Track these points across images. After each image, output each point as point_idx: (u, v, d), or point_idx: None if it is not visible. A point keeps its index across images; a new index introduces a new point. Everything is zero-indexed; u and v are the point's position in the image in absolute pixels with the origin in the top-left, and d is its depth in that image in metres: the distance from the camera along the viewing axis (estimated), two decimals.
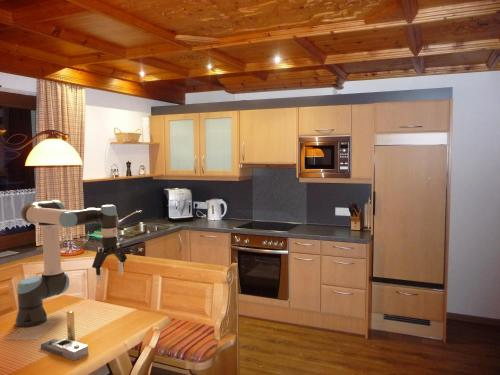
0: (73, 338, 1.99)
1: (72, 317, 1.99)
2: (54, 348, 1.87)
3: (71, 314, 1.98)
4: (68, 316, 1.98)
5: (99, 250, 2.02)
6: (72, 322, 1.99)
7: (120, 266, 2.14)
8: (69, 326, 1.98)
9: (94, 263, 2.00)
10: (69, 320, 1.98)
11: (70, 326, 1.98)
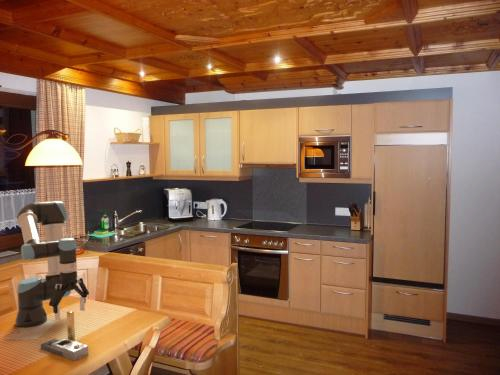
0: (73, 338, 1.99)
1: (72, 317, 1.99)
2: (54, 348, 1.87)
3: (71, 314, 1.98)
4: (68, 316, 1.98)
5: (56, 287, 1.92)
6: (72, 322, 1.99)
7: (81, 302, 2.04)
8: (69, 326, 1.98)
9: (51, 301, 1.90)
10: (69, 320, 1.98)
11: (70, 326, 1.98)
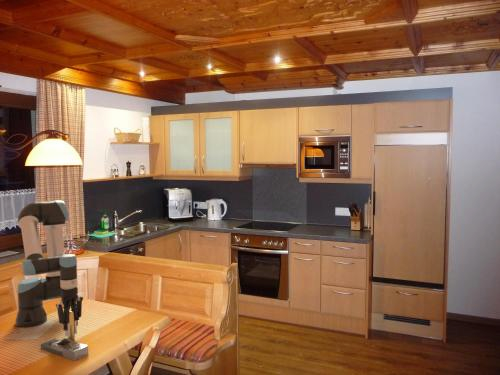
0: (73, 337, 2.00)
1: (72, 316, 1.99)
2: (54, 348, 1.87)
3: (71, 313, 1.98)
4: None
5: (58, 307, 1.93)
6: (72, 321, 1.99)
7: None
8: None
9: (60, 319, 1.95)
10: (69, 319, 1.98)
11: (70, 325, 1.98)
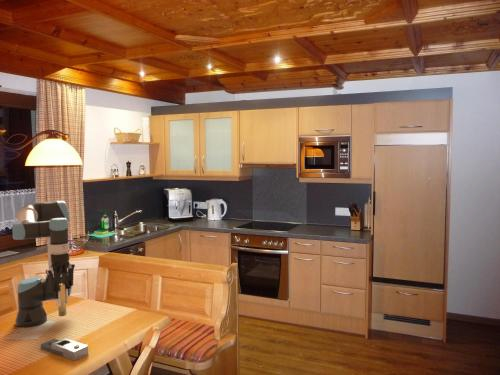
0: (64, 312, 1.87)
1: (63, 290, 1.86)
2: (54, 348, 1.87)
3: (62, 286, 1.86)
4: (59, 288, 1.85)
5: (48, 273, 1.81)
6: (63, 295, 1.86)
7: None
8: None
9: (50, 287, 1.82)
10: None
11: (61, 299, 1.86)
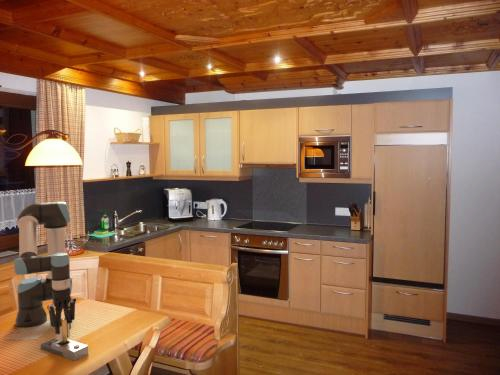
0: None
1: (65, 325, 1.87)
2: (54, 348, 1.87)
3: (64, 321, 1.87)
4: (60, 324, 1.86)
5: (50, 309, 1.82)
6: (64, 330, 1.87)
7: None
8: (62, 334, 1.87)
9: (51, 322, 1.83)
10: (62, 327, 1.86)
11: (62, 334, 1.87)
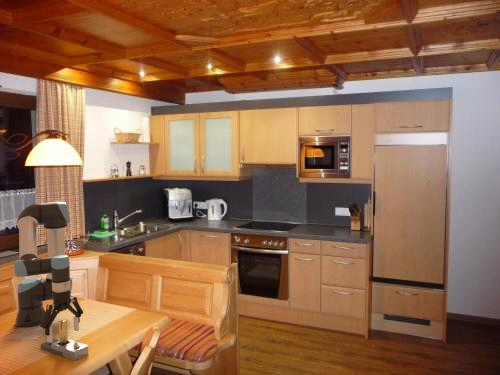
0: None
1: (65, 327, 1.87)
2: (54, 348, 1.87)
3: (64, 323, 1.87)
4: (61, 326, 1.87)
5: (48, 307, 1.81)
6: (65, 332, 1.87)
7: (75, 322, 1.94)
8: (62, 336, 1.87)
9: (42, 322, 1.80)
10: (62, 329, 1.87)
11: (63, 336, 1.87)
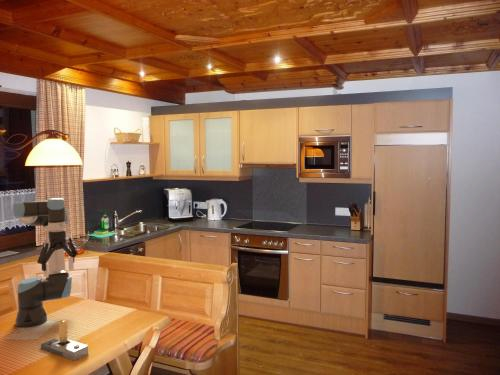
0: None
1: (65, 327, 1.87)
2: (54, 348, 1.87)
3: (64, 323, 1.87)
4: (60, 326, 1.87)
5: (45, 245, 1.94)
6: (64, 332, 1.87)
7: (70, 261, 2.07)
8: (62, 336, 1.87)
9: (39, 258, 1.93)
10: (62, 329, 1.87)
11: (62, 336, 1.87)
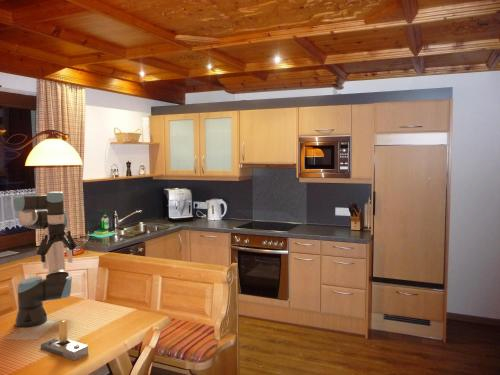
0: None
1: (65, 327, 1.87)
2: (54, 348, 1.87)
3: (64, 323, 1.87)
4: (60, 326, 1.86)
5: (44, 237, 1.99)
6: (64, 332, 1.87)
7: (69, 254, 2.12)
8: (62, 336, 1.87)
9: (39, 250, 1.98)
10: (61, 329, 1.87)
11: (62, 336, 1.87)
